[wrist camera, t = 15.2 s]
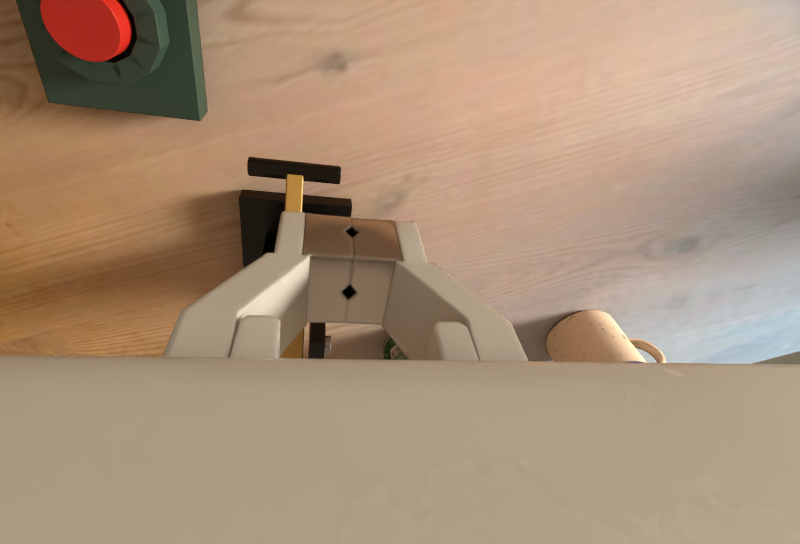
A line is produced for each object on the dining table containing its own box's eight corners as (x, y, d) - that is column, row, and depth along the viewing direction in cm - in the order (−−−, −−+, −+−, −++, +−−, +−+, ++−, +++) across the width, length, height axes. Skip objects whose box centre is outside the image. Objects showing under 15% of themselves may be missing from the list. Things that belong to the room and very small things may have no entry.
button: (47, -27, 21) (28, -25, 20) (125, -13, 22) (112, -10, 21) (68, 50, 24) (52, 56, 22) (138, 60, 24) (127, 67, 23)
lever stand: (241, 189, 34) (202, 301, 23) (351, 199, 36) (362, 306, 25) (247, 291, 40) (219, 415, 30) (340, 294, 42) (345, 412, 32)
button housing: (0, -128, 21) (-55, -140, 18) (187, -86, 23) (167, -91, 20) (65, 93, 28) (32, 111, 25) (207, 111, 30) (194, 130, 27)
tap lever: (251, 160, 28) (246, 153, 26) (339, 169, 30) (341, 163, 27) (243, 359, 29) (237, 370, 27) (328, 359, 31) (330, 370, 28)
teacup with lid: (539, 363, 54) (582, 446, 45) (547, 314, 49) (598, 398, 40) (626, 346, 55) (686, 425, 46) (644, 296, 49) (717, 375, 40)
